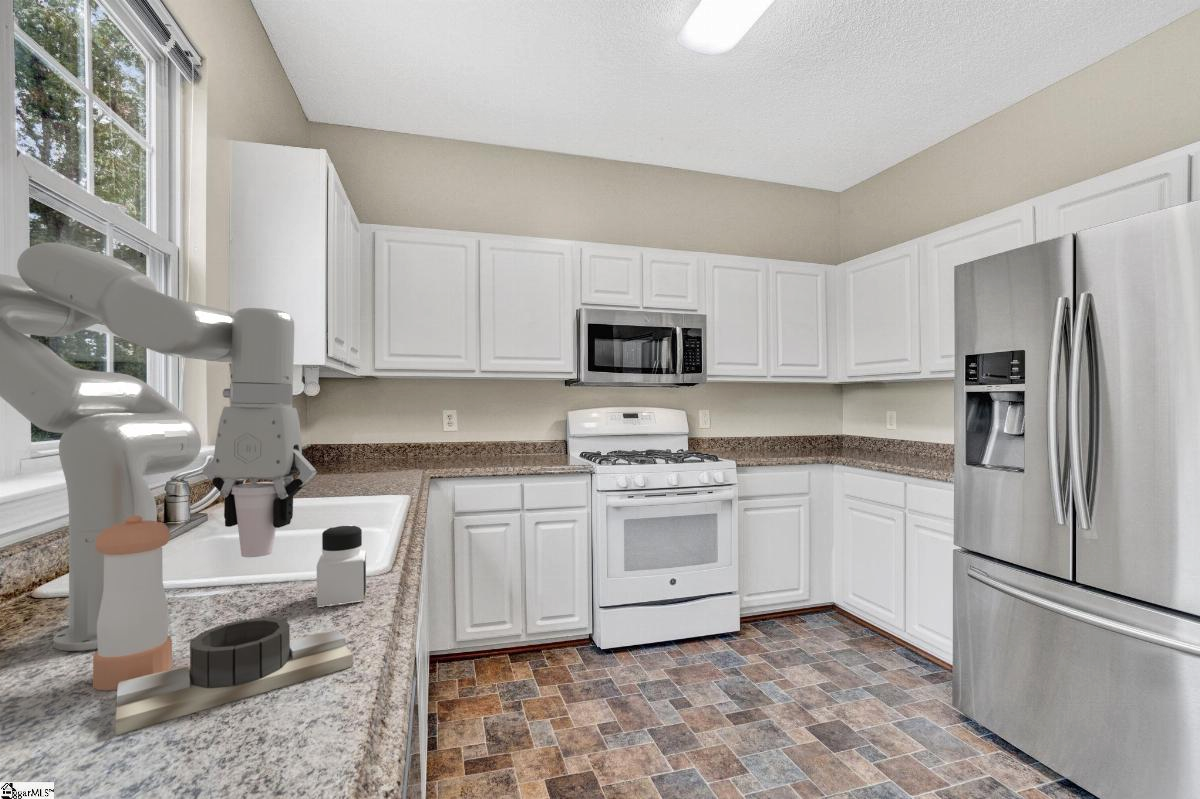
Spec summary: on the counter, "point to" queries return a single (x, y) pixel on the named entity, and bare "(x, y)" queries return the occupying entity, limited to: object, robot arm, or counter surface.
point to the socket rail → (226, 694)
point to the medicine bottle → (341, 566)
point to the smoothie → (255, 517)
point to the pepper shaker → (132, 604)
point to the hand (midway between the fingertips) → (258, 524)
